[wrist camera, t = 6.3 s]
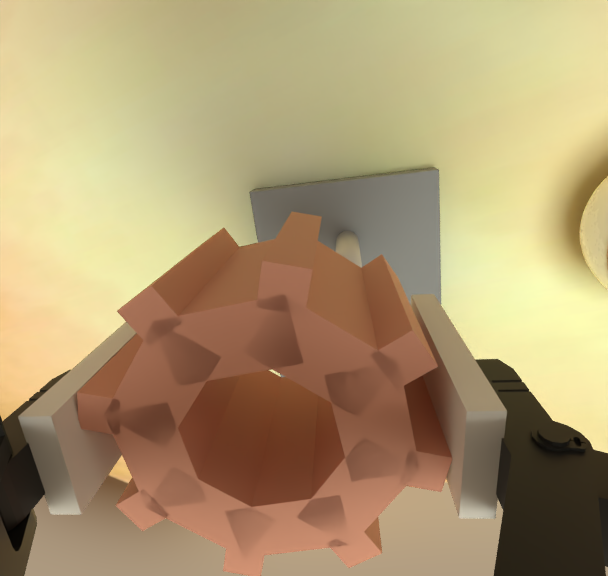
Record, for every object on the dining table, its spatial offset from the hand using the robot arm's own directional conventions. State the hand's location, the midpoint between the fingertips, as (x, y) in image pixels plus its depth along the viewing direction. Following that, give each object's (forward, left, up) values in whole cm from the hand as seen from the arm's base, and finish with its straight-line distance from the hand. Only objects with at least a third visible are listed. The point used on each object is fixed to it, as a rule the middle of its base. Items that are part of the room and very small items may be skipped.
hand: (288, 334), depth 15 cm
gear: (0, 0, 0) cm, 0 cm away
